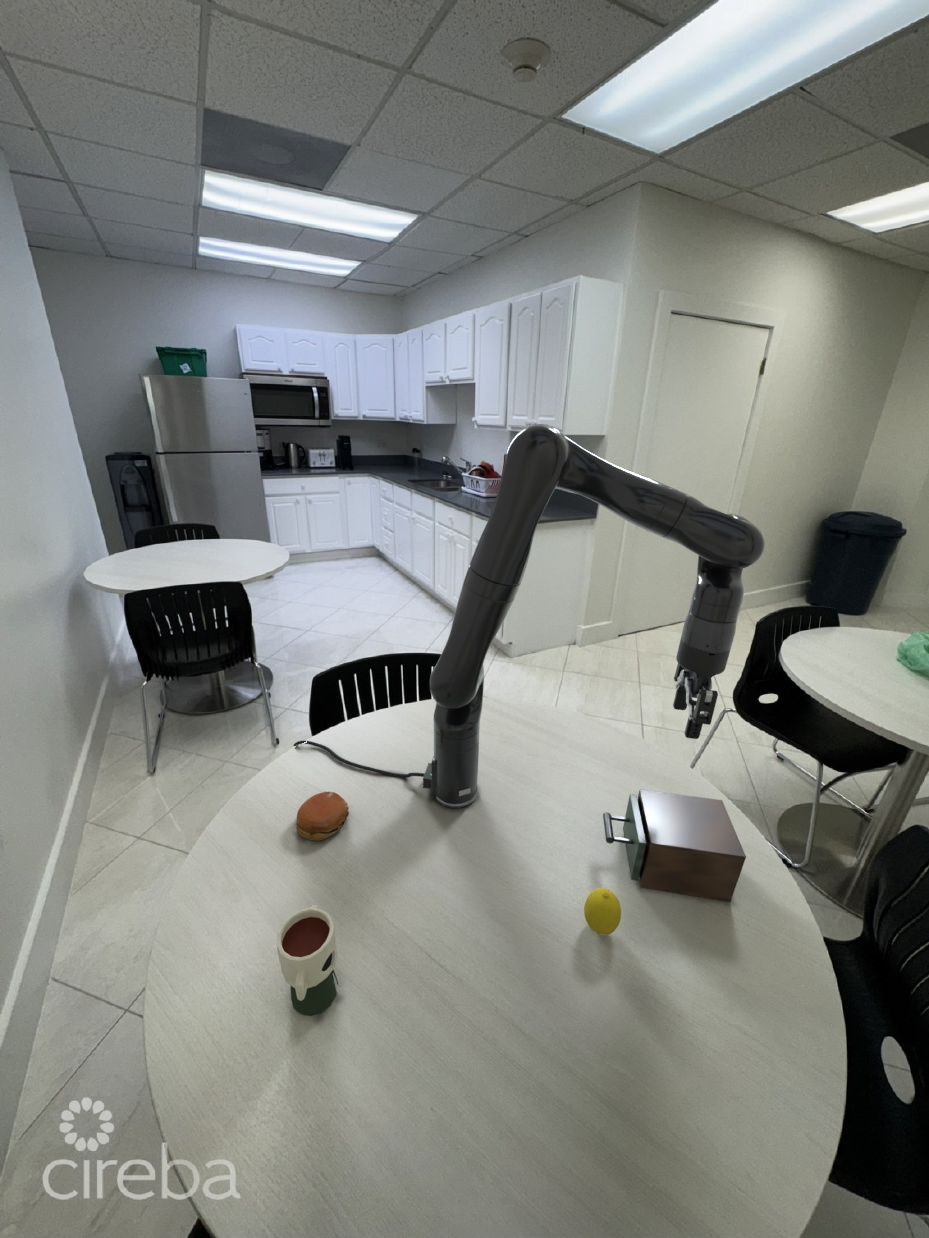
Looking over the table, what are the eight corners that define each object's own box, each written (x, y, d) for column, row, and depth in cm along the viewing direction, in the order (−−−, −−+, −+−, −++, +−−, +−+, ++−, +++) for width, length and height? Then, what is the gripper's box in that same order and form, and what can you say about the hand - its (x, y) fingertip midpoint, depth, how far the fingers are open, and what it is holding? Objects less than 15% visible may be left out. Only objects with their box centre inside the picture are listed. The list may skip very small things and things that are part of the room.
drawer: (603, 875, 86) (610, 838, 82) (598, 825, 96) (604, 790, 93) (713, 892, 83) (725, 855, 80) (695, 839, 94) (705, 803, 90)
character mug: (335, 1037, 64) (326, 974, 59) (279, 1042, 63) (265, 979, 58) (346, 952, 74) (339, 892, 69) (297, 955, 73) (287, 895, 68)
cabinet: (640, 887, 85) (651, 842, 81) (630, 831, 96) (639, 789, 92) (730, 902, 83) (746, 856, 78) (709, 842, 94) (722, 799, 90)
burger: (293, 844, 92) (291, 825, 90) (301, 807, 100) (299, 789, 98) (348, 839, 93) (346, 820, 91) (351, 803, 101) (349, 785, 100)
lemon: (613, 913, 80) (620, 879, 77) (620, 947, 75) (628, 912, 72) (579, 910, 81) (585, 875, 78) (583, 943, 76) (590, 908, 73)
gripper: (672, 620, 87) (654, 698, 93) (693, 657, 74) (671, 745, 80) (717, 624, 86) (696, 702, 92) (746, 662, 73) (720, 750, 79)
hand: (684, 722), depth 86 cm, fingers open, 8 cm apart
